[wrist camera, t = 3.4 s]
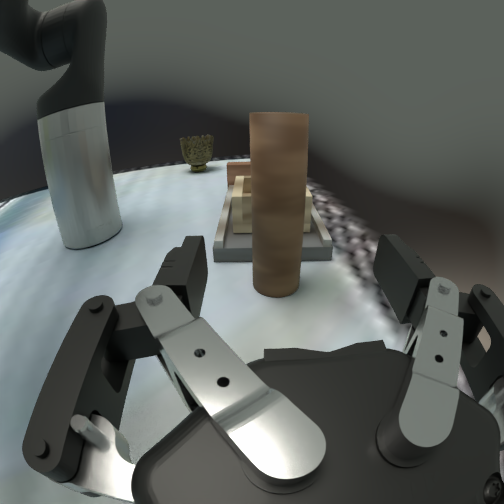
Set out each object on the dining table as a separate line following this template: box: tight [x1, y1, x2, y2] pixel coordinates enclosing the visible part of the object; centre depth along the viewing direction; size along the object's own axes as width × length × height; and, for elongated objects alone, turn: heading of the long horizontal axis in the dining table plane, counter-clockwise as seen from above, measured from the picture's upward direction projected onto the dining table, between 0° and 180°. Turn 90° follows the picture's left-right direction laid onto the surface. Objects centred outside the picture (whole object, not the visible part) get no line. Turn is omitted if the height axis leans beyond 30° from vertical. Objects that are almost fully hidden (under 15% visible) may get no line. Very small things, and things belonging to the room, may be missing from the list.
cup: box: [180, 135, 213, 172], centre depth 58 cm, size 8×7×8 cm
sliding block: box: [232, 176, 312, 233], centre depth 31 cm, size 8×8×4 cm
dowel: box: [250, 112, 309, 298], centre depth 21 cm, size 4×4×14 cm
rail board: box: [213, 162, 333, 262], centre depth 34 cm, size 20×12×6 cm, turn 0°
